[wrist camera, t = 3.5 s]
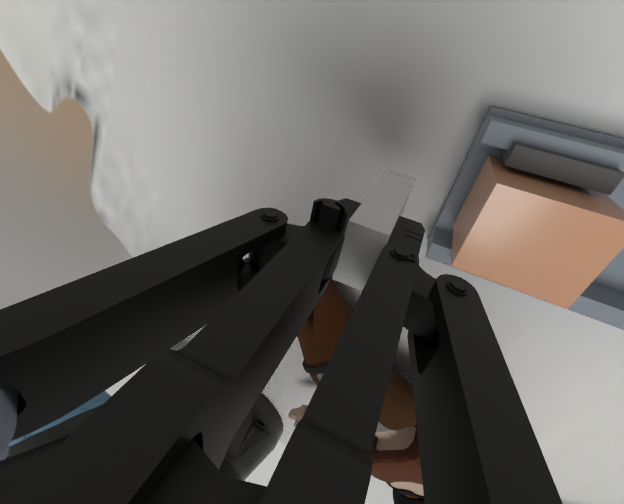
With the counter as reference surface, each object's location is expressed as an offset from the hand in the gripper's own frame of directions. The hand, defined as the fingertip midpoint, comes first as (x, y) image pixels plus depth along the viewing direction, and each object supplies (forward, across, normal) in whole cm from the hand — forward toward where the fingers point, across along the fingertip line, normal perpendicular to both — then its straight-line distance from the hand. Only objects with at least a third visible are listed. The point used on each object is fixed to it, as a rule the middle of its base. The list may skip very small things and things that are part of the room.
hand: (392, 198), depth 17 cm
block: (+7, -7, 0) cm, 10 cm away
